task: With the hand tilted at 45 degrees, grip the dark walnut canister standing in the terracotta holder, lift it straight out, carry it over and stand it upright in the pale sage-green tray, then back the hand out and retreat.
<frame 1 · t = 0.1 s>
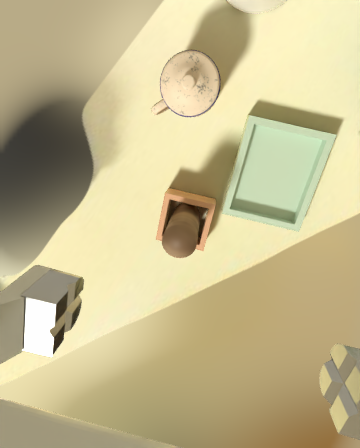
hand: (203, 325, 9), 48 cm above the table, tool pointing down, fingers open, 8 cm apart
teacup with lid: (186, 95, 51), on the table
terracotta holder: (186, 215, 58), on the table
walnut canister: (186, 215, 58), resting in terracotta holder
sage tray: (272, 174, 54), on the table
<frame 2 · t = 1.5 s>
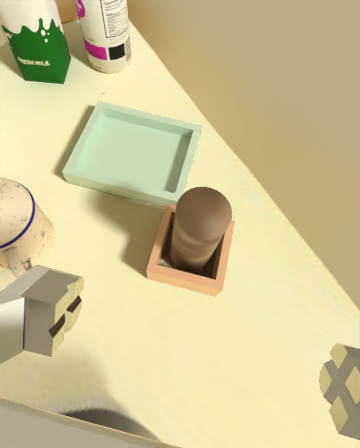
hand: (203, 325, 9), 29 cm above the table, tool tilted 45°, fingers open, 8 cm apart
teacup with lid: (27, 249, 40), on the table
supplement can: (110, 61, 56), on the table
milk carton: (49, 69, 54), on the table
terracotta holder: (189, 255, 41), on the table
walnut canister: (189, 255, 41), resting in terracotta holder
sage tray: (137, 158, 47), on the table
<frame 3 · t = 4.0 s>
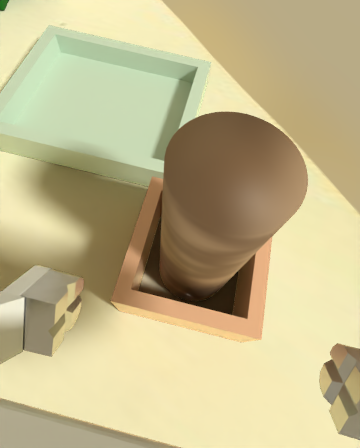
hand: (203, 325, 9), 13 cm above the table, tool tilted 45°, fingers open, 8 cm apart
terracotta holder: (193, 267, 24), on the table
walnut canister: (193, 267, 24), resting in terracotta holder
sage tray: (110, 113, 30), on the table
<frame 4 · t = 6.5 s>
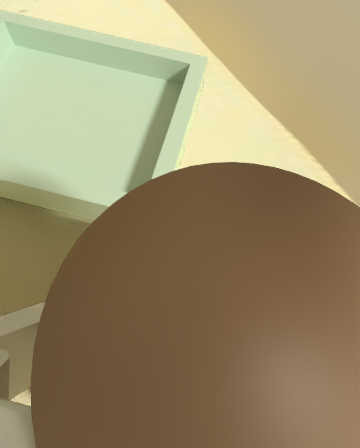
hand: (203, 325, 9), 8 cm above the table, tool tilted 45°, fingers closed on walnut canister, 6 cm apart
walnut canister: (179, 350, 16), resting in terracotta holder, touching gripper
sage tray: (74, 125, 23), on the table
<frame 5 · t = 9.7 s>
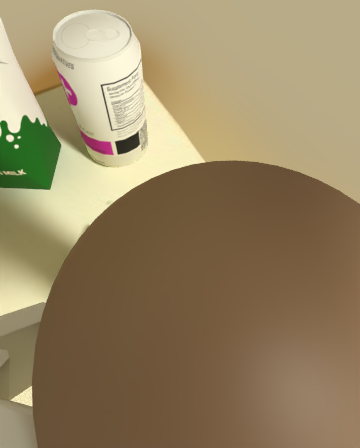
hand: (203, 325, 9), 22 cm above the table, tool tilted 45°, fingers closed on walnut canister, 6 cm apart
supplement can: (118, 146, 39), on the table
milk carton: (30, 165, 37), on the table
walnut canister: (180, 349, 16), point 13 cm above the table, touching gripper
when the fingers open (11 cm above the table, at t = 13.1 s): walnut canister drops 1 cm, resting on sage tray.
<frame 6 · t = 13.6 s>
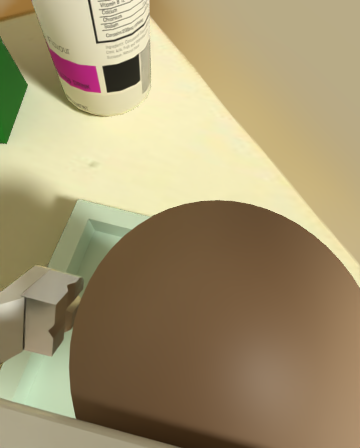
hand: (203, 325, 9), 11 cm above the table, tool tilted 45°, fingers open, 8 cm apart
supplement can: (109, 91, 28), on the table
walnut canister: (178, 349, 18), point 1 cm above the table, touching sage tray
sage tray: (177, 350, 18), on the table
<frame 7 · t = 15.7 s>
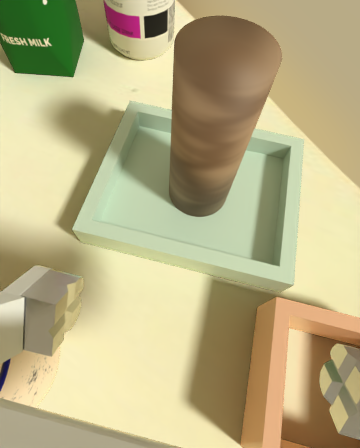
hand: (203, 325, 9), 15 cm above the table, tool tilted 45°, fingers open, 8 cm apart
teacup with lid: (8, 381, 21), on the table
supplement can: (142, 44, 38), on the table
milk carton: (52, 57, 36), on the table
terracotta holder: (312, 386, 21), on the table
walnut canister: (197, 190, 27), point 1 cm above the table, touching sage tray
sage tray: (196, 195, 28), on the table
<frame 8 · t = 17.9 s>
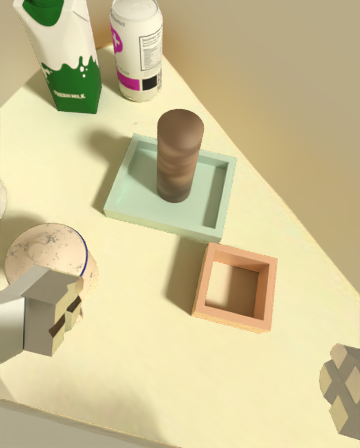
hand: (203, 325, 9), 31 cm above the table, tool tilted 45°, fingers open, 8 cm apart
teacup with lid: (71, 286, 40), on the table
supplement can: (140, 90, 57), on the table
milk carton: (81, 99, 55), on the table
terracotta holder: (230, 290, 41), on the table
walnut canister: (173, 188, 47), point 1 cm above the table, touching sage tray
sage tray: (173, 190, 47), on the table
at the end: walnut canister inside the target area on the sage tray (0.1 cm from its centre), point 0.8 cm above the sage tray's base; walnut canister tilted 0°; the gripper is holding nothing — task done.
